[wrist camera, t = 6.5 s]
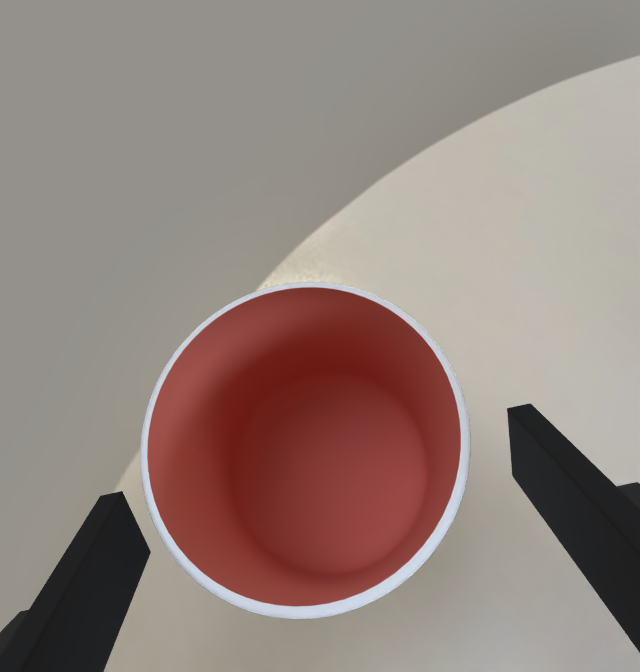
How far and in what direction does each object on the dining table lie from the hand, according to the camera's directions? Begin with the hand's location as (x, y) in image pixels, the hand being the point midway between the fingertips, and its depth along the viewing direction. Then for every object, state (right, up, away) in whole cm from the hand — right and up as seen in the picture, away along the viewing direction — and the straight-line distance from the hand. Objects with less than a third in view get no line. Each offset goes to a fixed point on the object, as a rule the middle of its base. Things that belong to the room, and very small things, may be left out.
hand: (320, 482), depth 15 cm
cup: (+1, -2, +8) cm, 8 cm away
